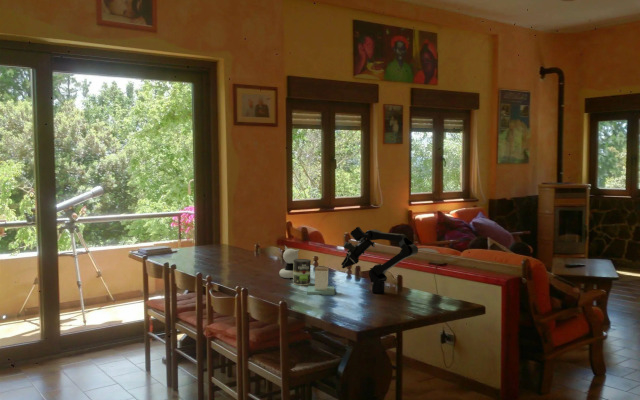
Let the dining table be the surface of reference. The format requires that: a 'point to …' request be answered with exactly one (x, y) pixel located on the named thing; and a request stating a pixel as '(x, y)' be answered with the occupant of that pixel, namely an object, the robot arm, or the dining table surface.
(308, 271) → the coffee can
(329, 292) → the base block
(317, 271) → the beige rectangular block
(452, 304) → the dining table surface
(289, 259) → the decorative figurine
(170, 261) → the dining table surface
